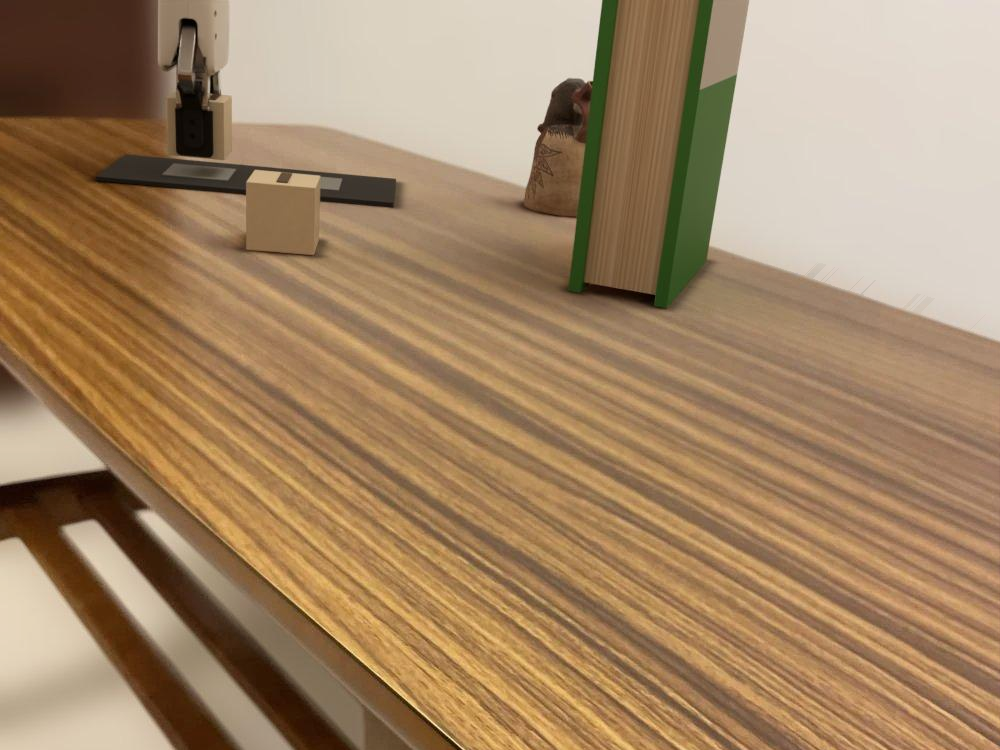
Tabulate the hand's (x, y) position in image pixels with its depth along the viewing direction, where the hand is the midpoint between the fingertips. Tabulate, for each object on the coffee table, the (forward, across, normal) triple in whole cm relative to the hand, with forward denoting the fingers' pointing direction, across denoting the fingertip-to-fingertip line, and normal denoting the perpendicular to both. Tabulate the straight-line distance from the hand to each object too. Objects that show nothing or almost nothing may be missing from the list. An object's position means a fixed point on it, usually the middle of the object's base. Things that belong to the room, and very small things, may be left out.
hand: (200, 148), depth 113 cm
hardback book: (+3, +24, +38) cm, 45 cm away
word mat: (+3, 0, +5) cm, 6 cm away
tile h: (0, 0, 0) cm, 0 cm away
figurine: (+3, 0, +34) cm, 34 cm away
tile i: (+3, +24, +10) cm, 26 cm away
